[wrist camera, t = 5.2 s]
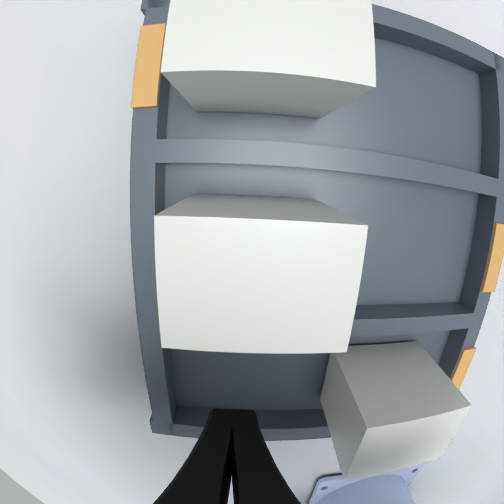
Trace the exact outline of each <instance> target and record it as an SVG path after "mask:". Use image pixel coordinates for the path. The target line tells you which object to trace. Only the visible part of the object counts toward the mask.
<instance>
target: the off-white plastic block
mask: <svg viewBox="0 0 504 504" xmlns="http://www.w3.org/2000/svg"><path fill="white" fill-rule="evenodd" d="M161 73H162V74H163V75H164V76H165V77H166V79H167V80H168V81H169V82H170V83H171V84H172V85H173V86H174V87H175V88H176V89H177V90H178V92H179V93H180V94H181V95H182V96H183V97H184V98H185V99H186V100H187V101H188V103H189V104H190V105H191V106H192V107H193V108H194V109H195V110H196V111H197V112H202V111H206V112H248V113H267V114H281V115H293V116H303V117H313V118H323V117H325V116H326V115H328V114H330V113H331V112H333V111H335V110H337V109H338V108H340V107H342V106H343V105H345V104H347V103H349V102H350V101H352V100H354V99H356V98H357V97H359V96H361V95H363V94H365V93H366V92H368V91H370V90H372V89H374V88H376V64H375V41H374V25H373V13H372V2H371V0H170V6H169V12H168V18H167V25H166V32H165V39H164V47H163V55H162V64H161Z"/></svg>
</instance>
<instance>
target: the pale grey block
mask: <svg viewBox="0 0 504 504" xmlns="http://www.w3.org/2000/svg"><path fill="white" fill-rule="evenodd" d="M320 401H321V404H322V407H323V411H324V414H325V417H326V421H327V424H328V428H329V431H330V434H331V438H332V441H333V445H334V448H335V451H336V455H337V458H338V462H339V465H340V469H341V472H342V476H343V479H344V480H349V479H355V478H361V477H366V476H372V475H377V474H382V473H386V472H391V471H395V470H399V469H403V468H407V467H411V466H415V465H419V464H422V463H426V462H429V461H432V460H435V459H439V458H440V457H441V456H442V454H443V453H444V451H445V450H446V448H447V447H448V445H449V443H450V442H451V440H452V439H453V437H454V435H455V434H456V432H457V430H458V429H459V427H460V425H461V424H462V422H463V420H464V418H465V416H466V415H467V413H468V411H469V409H470V407H471V404H470V403H469V402H468V400H467V399H466V398H465V397H464V396H463V394H462V393H461V392H460V391H459V389H458V388H457V387H456V386H455V385H454V383H453V382H452V381H451V380H450V379H449V377H448V376H447V375H446V374H445V373H444V371H443V370H442V369H441V368H440V367H439V366H438V364H437V363H436V362H435V361H434V360H433V359H432V357H431V356H430V355H429V354H428V353H427V352H426V350H425V349H424V348H423V347H422V346H421V345H420V344H419V342H418V341H414V342H403V343H390V344H375V345H356V346H348V348H347V352H341V353H330V356H329V361H328V366H327V370H326V375H325V380H324V384H323V389H322V393H321V397H320Z"/></svg>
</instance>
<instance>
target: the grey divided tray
mask: <svg viewBox="0 0 504 504" xmlns="http://www.w3.org/2000/svg"><path fill="white" fill-rule="evenodd" d="M169 6H170V0H142V4H141V9H140V10H141V11H142V12H143V14H144V15H145V18H144V24H143V26H141V29H140V35H139V41H138V48H137V55H136V63H135V71H134V80H133V89H132V100H131V108H133V118H132V134H131V159H130V223H131V248H132V265H133V279H134V291H135V302H136V312H137V320H138V329H139V337H140V344H141V351H142V358H143V365H144V371H145V377H146V383H147V388H148V394H149V399H150V404H151V409H152V415H151V418H150V425H151V429H152V433H158V434H166V435H174V436H183V437H193V438H199V437H200V435H201V433H202V431H203V428H204V426H205V424H206V421H207V419H208V416H209V412H210V410H212V409H213V408H217V409H238V410H253V411H255V412H256V415H257V420H258V424H259V427H260V430H261V433H262V435H263V438H264V441H275V440H303V439H318V438H330V437H331V434H330V431H329V428H328V424H327V421H326V417H325V414H324V411H323V407H322V404H321V401H320V397H321V393H322V389H323V384H324V380H325V375H326V370H327V366H328V361H329V356H330V353H303V354H273V353H234V352H213V351H197V350H183V349H171V348H162V347H161V337H160V326H159V314H158V301H157V286H156V267H155V238H154V215H156V214H158V213H160V212H161V211H163V210H165V209H167V208H169V207H170V206H172V205H174V204H176V203H177V202H179V201H181V200H183V199H185V198H187V197H188V196H190V195H192V194H214V195H242V196H264V197H282V198H299V199H313V200H318V201H320V202H322V203H324V204H327V205H329V206H331V207H333V208H335V209H337V210H339V211H341V212H343V213H345V214H347V215H349V216H351V217H353V218H355V219H357V220H359V221H360V222H362V223H364V224H366V225H368V231H367V240H366V247H365V254H364V261H363V268H362V275H361V281H360V287H359V293H358V298H357V304H356V309H355V315H354V320H353V325H352V330H351V335H350V339H349V344H348V346H356V345H375V344H390V343H403V342H414V341H418V342H419V344H420V345H421V346H422V347H423V348H424V349H425V350H426V352H427V353H428V354H429V355H430V356H431V357H432V359H433V360H434V361H435V362H436V363H437V364H438V366H439V367H440V368H441V369H442V370H443V371H444V373H445V374H446V375H447V376H448V377H449V379H450V380H451V381H452V382H453V383H454V385H455V386H456V387H457V388H458V389H459V388H460V386H461V384H462V382H463V379H464V377H465V375H466V373H467V370H468V368H469V365H470V363H471V361H472V358H473V356H474V353H475V350H476V348H475V347H474V345H475V342H476V339H477V336H478V333H479V331H480V328H481V325H482V321H483V318H484V315H485V312H486V309H487V305H488V302H489V298H490V295H491V292H495V288H496V284H497V280H498V276H499V272H500V267H501V263H502V258H503V253H504V58H503V57H501V56H499V55H497V54H495V53H494V52H492V51H490V50H488V49H486V48H484V47H482V46H481V45H479V44H477V43H475V42H473V41H471V40H468V39H466V38H464V37H462V36H460V35H458V34H456V33H453V32H451V31H449V30H446V29H444V28H442V27H439V26H437V25H434V24H432V23H429V22H426V21H424V20H421V19H418V18H416V17H413V16H410V15H407V14H404V13H401V12H398V11H394V10H391V9H388V8H384V7H381V6H377V5H374V4H372V13H373V25H374V41H375V64H376V88H374V89H372V90H370V91H368V92H366V93H365V94H363V95H361V96H359V97H357V98H356V99H354V100H352V101H350V102H349V103H347V104H345V105H343V106H342V107H340V108H338V109H337V110H335V111H333V112H331V113H330V114H328V115H326V116H325V117H323V118H313V117H303V116H293V115H281V114H267V113H248V112H206V111H202V112H197V111H196V110H195V109H194V108H193V107H192V106H191V105H190V104H189V103H188V101H187V100H186V99H185V98H184V97H183V96H182V95H181V94H180V93H179V92H178V90H177V89H176V88H175V87H174V86H173V85H172V84H171V83H170V82H169V81H168V80H167V79H166V77H165V76H164V75H163V74H162V73H161V64H162V55H163V47H164V39H165V32H166V25H167V18H168V12H169Z"/></svg>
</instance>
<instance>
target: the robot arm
mask: <svg viewBox="0 0 504 504" xmlns="http://www.w3.org/2000/svg"><path fill="white" fill-rule="evenodd" d="M422 465H423V463H422V464H419V465H415V466H411V467H407V468H403V469H399V470H395V471H391V472H386V473H382V474H377V475H372V476H366V477H361V478H355V479H349V480H344V479H343V476H342V475H338V476H330V477H323V478H321V479H319V480H318V482H317V484H316V486H315V489H314V491H313V494H312V496H311V499H310V501H309V503H308V504H414V501H413V499H412V497H411V494H410V492H409V490H408V487H407V486H408V485H409V484H410V482H411V481H412V479H413V478H414V477H415V475H416V474H417V472H418V471H419V469H420V468H421V466H422ZM231 475H232V484H233V496H234V504H301V503H300V502H299V501H298V499H297V498H296V497H295V495H294V494H293V492H292V491H291V489H290V488H289V486H288V485H287V483H286V481H285V480H284V478H283V476H282V475H281V473H280V471H279V470H278V468H277V466H276V464H275V462H274V460H273V458H272V456H271V454H270V452H269V450H268V448H267V445H266V443H265V441H264V438H263V435H262V433H261V430H260V427H259V424H258V420H257V415H256V412H255V411H253V410H238V409H217V408H213V409H212V410H210V412H209V416H208V419H207V421H206V424H205V426H204V428H203V431H202V433H201V435H200V437H199V439H198V441H197V443H196V444H195V446H194V448H193V450H192V451H191V453H190V455H189V457H188V458H187V460H186V461H185V463H184V464H183V466H182V467H181V469H180V470H179V472H178V473H177V475H176V476H175V477H174V479H173V480H172V482H171V483H170V484H169V485H168V487H167V488H166V489H165V490H164V492H163V493H162V494H161V495H160V496H159V497H158V499H157V500H156V501H155V502H154V503H153V504H227V503H228V496H229V489H230V482H231Z"/></svg>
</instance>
